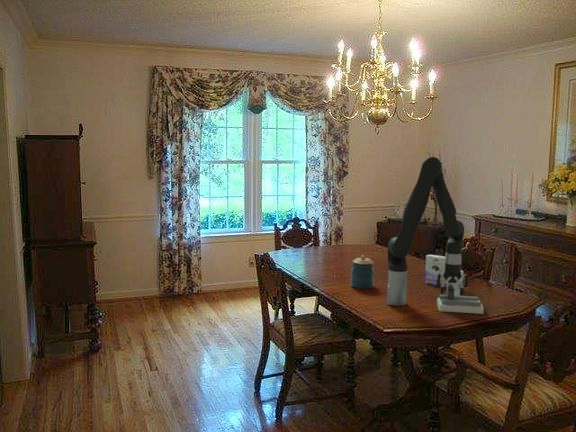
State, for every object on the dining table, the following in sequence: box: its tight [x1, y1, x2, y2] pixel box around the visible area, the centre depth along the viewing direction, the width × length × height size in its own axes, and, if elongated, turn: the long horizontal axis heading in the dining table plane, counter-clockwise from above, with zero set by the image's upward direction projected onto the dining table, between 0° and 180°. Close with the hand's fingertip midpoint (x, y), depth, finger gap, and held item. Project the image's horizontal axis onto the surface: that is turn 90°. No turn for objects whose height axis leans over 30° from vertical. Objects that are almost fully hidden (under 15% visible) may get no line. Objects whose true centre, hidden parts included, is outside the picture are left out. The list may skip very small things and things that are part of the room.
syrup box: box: [448, 270, 464, 296], centre depth 272 cm, size 6×6×14 cm
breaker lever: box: [445, 284, 454, 300], centre depth 255 cm, size 3×5×8 cm, turn 170°
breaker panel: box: [436, 294, 485, 315], centre depth 255 cm, size 20×12×5 cm, turn 80°
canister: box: [350, 254, 375, 290], centre depth 292 cm, size 13×13×18 cm
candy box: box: [423, 253, 448, 288], centre depth 297 cm, size 14×6×16 cm, turn 47°
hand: (451, 294), depth 255 cm, fingers open, 8 cm apart
